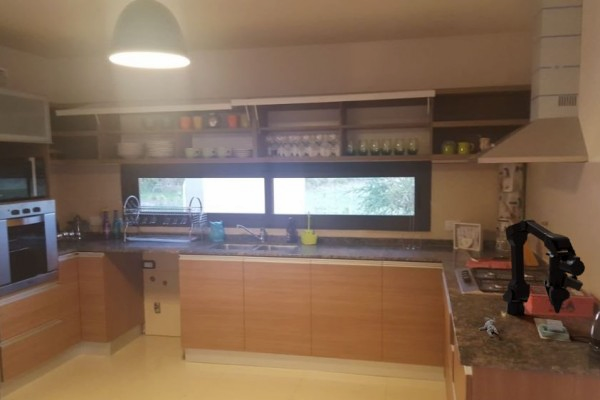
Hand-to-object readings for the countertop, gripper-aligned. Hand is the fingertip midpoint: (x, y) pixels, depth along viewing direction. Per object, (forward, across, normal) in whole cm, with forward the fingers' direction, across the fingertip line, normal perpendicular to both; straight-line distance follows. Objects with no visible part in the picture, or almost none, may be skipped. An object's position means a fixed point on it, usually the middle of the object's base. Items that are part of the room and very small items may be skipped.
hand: (555, 309), depth 174 cm
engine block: (+10, 0, 0) cm, 10 cm away
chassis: (+11, +6, 0) cm, 12 cm away
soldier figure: (+11, -3, +23) cm, 25 cm away
